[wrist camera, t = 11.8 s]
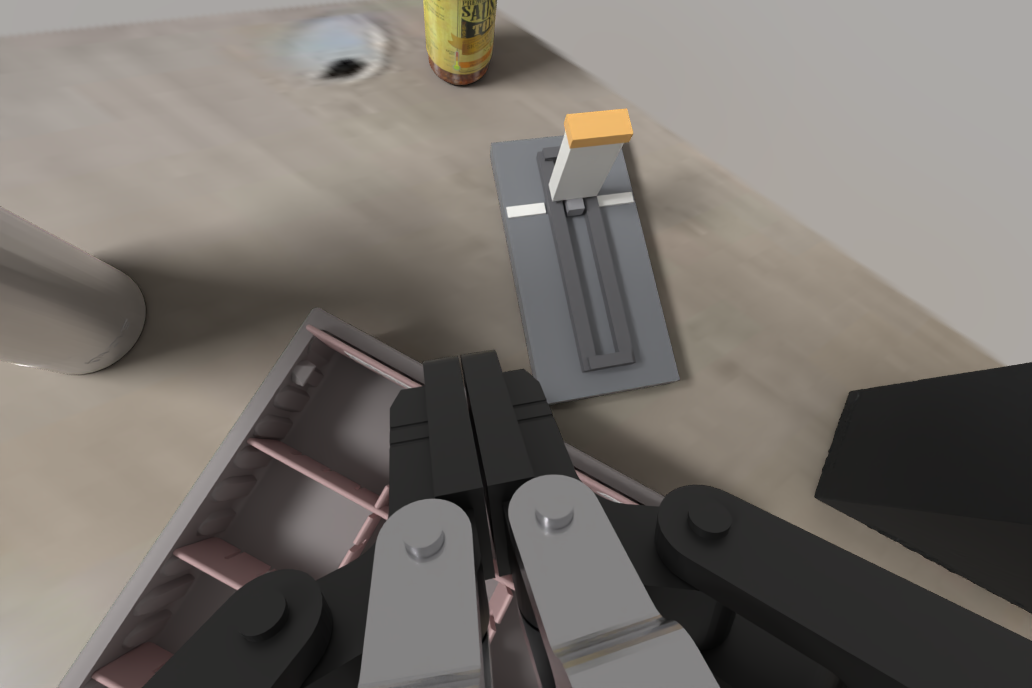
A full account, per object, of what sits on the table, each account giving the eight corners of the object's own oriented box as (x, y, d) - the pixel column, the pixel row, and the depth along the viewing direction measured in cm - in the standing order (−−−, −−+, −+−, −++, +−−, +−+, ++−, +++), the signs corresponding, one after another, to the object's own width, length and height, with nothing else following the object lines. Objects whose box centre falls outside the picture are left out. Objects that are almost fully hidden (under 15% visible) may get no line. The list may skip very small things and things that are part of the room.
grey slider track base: (670, 383, 44) (687, 377, 41) (538, 406, 43) (545, 402, 39) (610, 142, 49) (621, 119, 46) (490, 155, 47) (492, 132, 44)
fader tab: (597, 212, 45) (636, 143, 35) (550, 218, 44) (575, 150, 34) (589, 176, 45) (624, 98, 36) (542, 181, 45) (564, 104, 35)
